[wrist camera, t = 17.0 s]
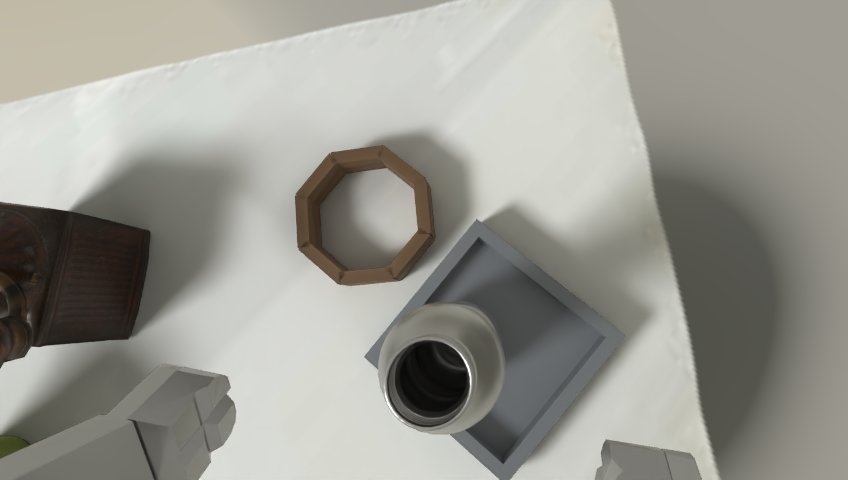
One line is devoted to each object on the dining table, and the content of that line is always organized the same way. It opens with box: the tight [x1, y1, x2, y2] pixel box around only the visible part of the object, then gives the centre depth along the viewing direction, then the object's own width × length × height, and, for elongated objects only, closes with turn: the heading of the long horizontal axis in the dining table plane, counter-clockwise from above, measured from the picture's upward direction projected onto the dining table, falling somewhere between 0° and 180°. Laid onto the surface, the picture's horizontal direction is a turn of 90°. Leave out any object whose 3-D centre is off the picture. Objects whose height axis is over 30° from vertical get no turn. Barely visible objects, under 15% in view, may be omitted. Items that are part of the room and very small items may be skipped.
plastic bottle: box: [378, 301, 505, 435], centre depth 28 cm, size 6×7×20 cm
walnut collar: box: [295, 145, 435, 286], centre depth 40 cm, size 11×11×3 cm
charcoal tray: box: [364, 219, 626, 480], centre depth 37 cm, size 14×14×3 cm
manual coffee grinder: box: [0, 202, 150, 368], centre depth 35 cm, size 16×11×18 cm
